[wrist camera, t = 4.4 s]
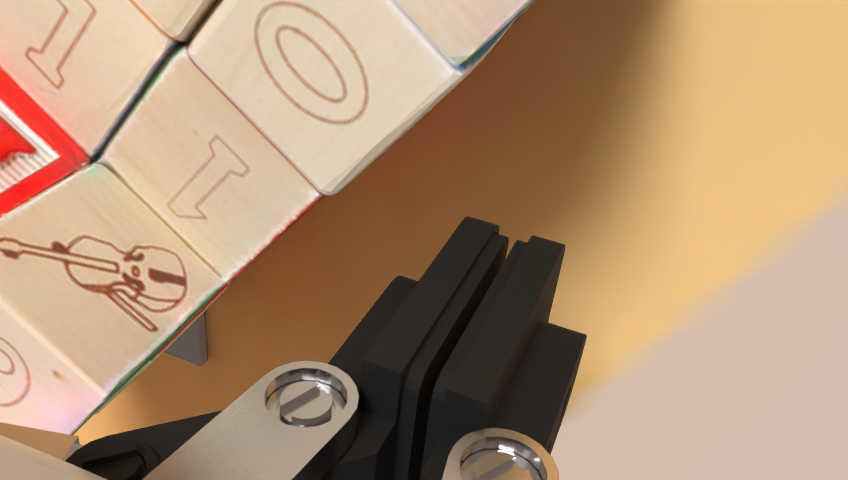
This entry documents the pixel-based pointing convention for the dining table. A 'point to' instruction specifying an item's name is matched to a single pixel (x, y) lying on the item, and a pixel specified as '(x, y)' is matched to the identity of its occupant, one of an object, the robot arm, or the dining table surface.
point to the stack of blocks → (184, 160)
